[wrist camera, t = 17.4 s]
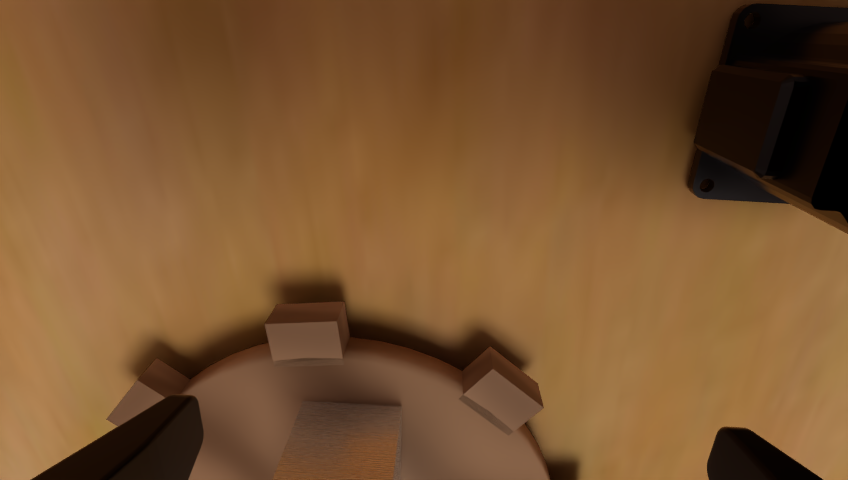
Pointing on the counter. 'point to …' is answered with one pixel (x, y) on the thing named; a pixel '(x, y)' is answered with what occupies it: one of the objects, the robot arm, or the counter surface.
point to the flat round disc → (352, 401)
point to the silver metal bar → (343, 443)
